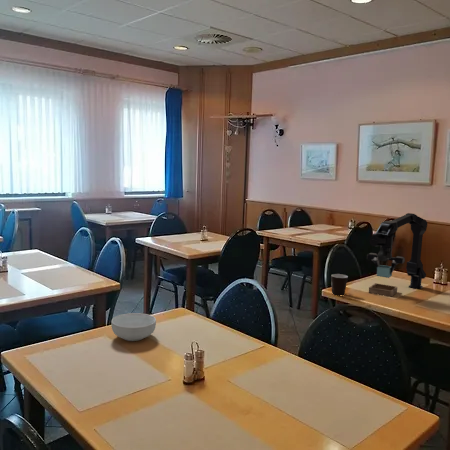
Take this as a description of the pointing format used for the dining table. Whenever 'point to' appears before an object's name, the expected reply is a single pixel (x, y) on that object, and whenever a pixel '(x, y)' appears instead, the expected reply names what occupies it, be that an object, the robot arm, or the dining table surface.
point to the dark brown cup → (338, 284)
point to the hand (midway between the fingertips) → (384, 273)
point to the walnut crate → (383, 289)
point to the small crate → (384, 271)
